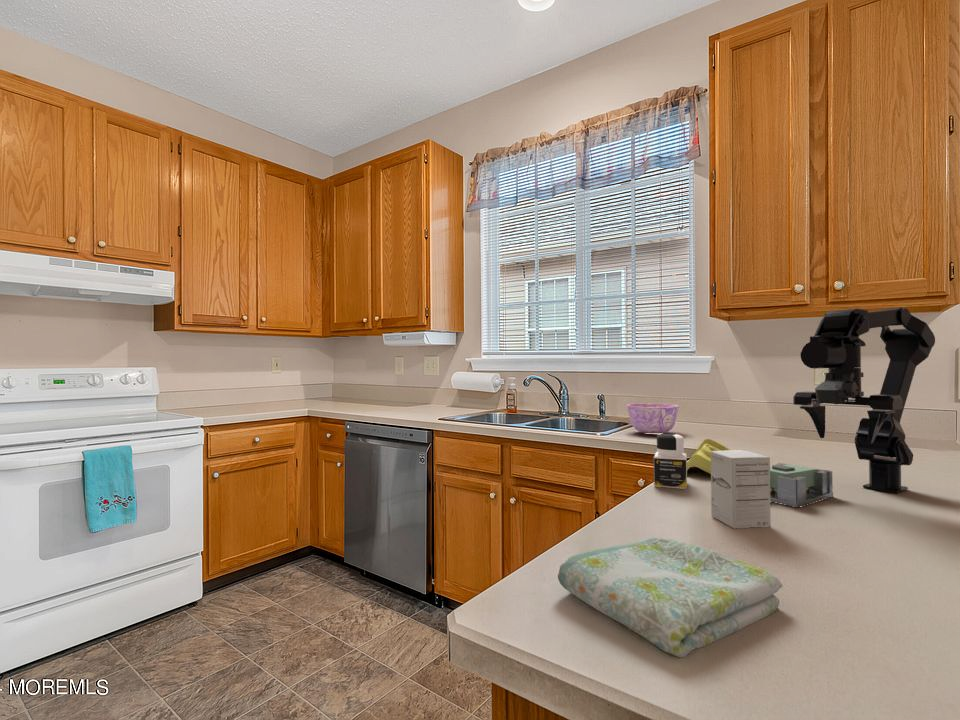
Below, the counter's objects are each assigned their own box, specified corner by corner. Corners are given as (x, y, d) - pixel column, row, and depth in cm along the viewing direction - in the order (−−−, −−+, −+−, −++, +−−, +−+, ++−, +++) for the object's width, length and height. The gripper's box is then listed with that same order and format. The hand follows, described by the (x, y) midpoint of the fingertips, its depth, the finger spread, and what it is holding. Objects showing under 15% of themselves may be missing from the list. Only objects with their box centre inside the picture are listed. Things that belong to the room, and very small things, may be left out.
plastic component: (729, 471, 128) (690, 450, 132) (715, 495, 130) (677, 474, 134) (737, 452, 144) (702, 434, 149) (725, 474, 147) (691, 456, 151)
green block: (790, 479, 116) (789, 461, 116) (817, 485, 111) (816, 466, 111) (759, 484, 112) (759, 466, 112) (786, 490, 107) (785, 471, 107)
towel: (789, 610, 62) (788, 568, 62) (675, 668, 51) (674, 616, 51) (663, 561, 78) (662, 527, 78) (554, 598, 66) (553, 558, 66)
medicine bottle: (654, 486, 122) (653, 436, 122) (655, 480, 128) (655, 432, 128) (686, 489, 119) (686, 437, 119) (686, 482, 126) (686, 433, 126)
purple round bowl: (679, 438, 196) (679, 407, 196) (624, 436, 203) (624, 406, 203) (679, 431, 214) (678, 403, 214) (629, 429, 222) (628, 402, 222)
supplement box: (710, 517, 98) (709, 450, 98) (747, 515, 99) (746, 449, 99) (732, 529, 91) (731, 457, 91) (772, 527, 91) (771, 456, 91)
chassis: (780, 486, 120) (780, 463, 120) (833, 496, 111) (832, 471, 111) (744, 496, 112) (743, 471, 112) (797, 508, 103) (797, 480, 103)
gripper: (780, 368, 115) (781, 438, 115) (880, 368, 99) (881, 450, 99) (805, 367, 121) (806, 434, 121) (903, 367, 105) (904, 444, 105)
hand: (845, 440), depth 111 cm, fingers open, 9 cm apart
